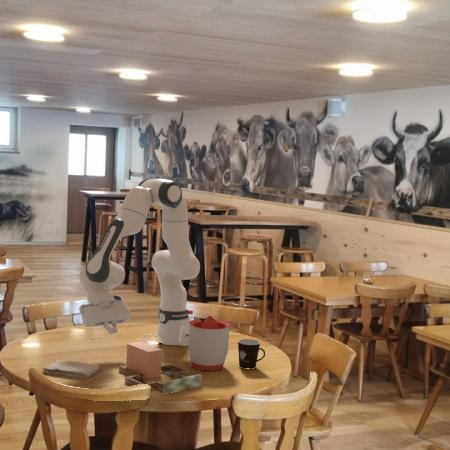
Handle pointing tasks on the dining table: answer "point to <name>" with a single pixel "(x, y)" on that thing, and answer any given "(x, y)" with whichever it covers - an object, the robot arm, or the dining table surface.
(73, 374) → the washcloth
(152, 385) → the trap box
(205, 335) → the citrus juicer
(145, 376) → the terracotta block
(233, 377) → the dining table surface
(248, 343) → the coffee mug
